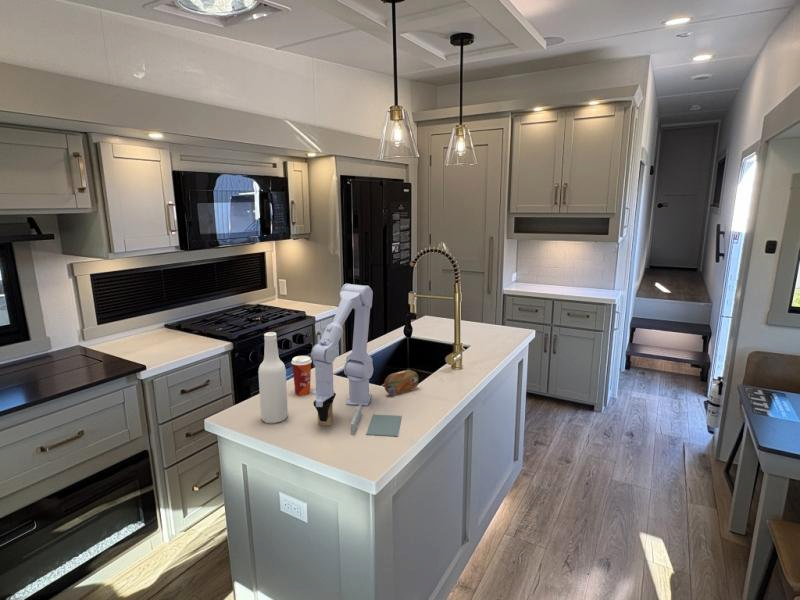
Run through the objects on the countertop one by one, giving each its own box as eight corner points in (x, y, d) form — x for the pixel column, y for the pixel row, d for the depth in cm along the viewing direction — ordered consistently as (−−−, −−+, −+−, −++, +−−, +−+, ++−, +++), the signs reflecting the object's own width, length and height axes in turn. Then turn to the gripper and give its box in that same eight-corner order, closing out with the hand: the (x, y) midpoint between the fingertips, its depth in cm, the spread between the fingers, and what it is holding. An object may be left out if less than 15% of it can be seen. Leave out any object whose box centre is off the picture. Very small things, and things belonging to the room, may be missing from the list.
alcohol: (257, 416, 155) (252, 332, 149) (282, 410, 160) (278, 328, 154) (266, 426, 148) (261, 338, 142) (292, 419, 153) (288, 334, 147)
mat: (372, 415, 157) (372, 414, 157) (401, 416, 156) (401, 415, 156) (366, 434, 143) (366, 434, 143) (397, 436, 142) (397, 435, 142)
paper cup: (306, 398, 170) (305, 362, 167) (288, 395, 173) (287, 360, 170) (316, 390, 177) (315, 356, 175) (299, 387, 180) (298, 354, 177)
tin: (387, 398, 171) (387, 377, 169) (382, 395, 174) (382, 374, 172) (419, 389, 179) (419, 369, 178) (414, 386, 182) (414, 367, 180)
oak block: (321, 419, 153) (320, 402, 152) (332, 419, 153) (332, 403, 152) (318, 424, 150) (317, 407, 148) (329, 425, 149) (329, 408, 148)
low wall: (358, 414, 157) (358, 405, 156) (361, 414, 157) (361, 405, 156) (350, 434, 144) (350, 423, 143) (353, 434, 143) (353, 424, 143)
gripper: (318, 371, 156) (319, 407, 158) (305, 387, 141) (307, 427, 144) (338, 372, 155) (339, 408, 158) (327, 388, 141) (329, 428, 144)
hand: (325, 417), depth 151 cm, fingers closed on oak block, 4 cm apart
